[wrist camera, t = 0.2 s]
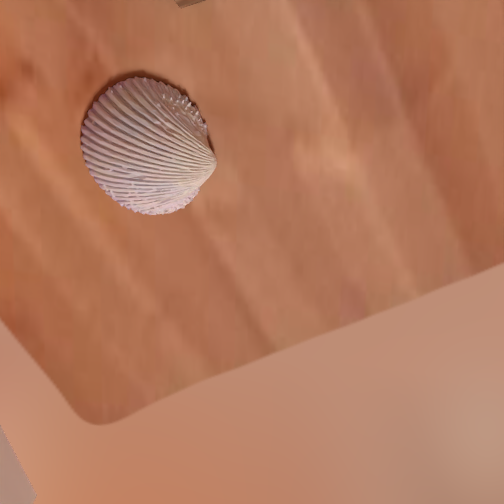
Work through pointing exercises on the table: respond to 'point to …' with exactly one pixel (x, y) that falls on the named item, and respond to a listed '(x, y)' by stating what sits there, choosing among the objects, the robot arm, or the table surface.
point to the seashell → (147, 146)
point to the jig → (186, 2)
